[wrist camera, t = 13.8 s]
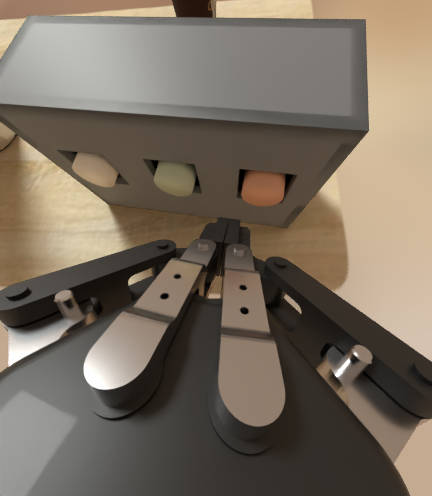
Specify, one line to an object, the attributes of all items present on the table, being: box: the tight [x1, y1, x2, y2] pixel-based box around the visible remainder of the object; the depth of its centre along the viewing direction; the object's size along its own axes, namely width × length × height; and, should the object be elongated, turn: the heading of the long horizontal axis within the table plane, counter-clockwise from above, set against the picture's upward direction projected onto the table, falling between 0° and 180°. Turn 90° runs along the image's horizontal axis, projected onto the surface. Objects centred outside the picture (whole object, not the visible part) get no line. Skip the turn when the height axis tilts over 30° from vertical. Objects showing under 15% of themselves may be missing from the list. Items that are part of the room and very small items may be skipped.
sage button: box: [154, 160, 197, 196], centre depth 20 cm, size 7×4×4 cm, turn 170°
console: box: [0, 16, 369, 228], centre depth 21 cm, size 10×28×16 cm, turn 80°
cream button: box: [72, 152, 119, 187], centre depth 21 cm, size 7×4×4 cm, turn 170°
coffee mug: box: [172, 0, 216, 18], centre depth 33 cm, size 12×9×10 cm
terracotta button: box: [241, 169, 286, 206], centre depth 19 cm, size 7×4×4 cm, turn 170°
